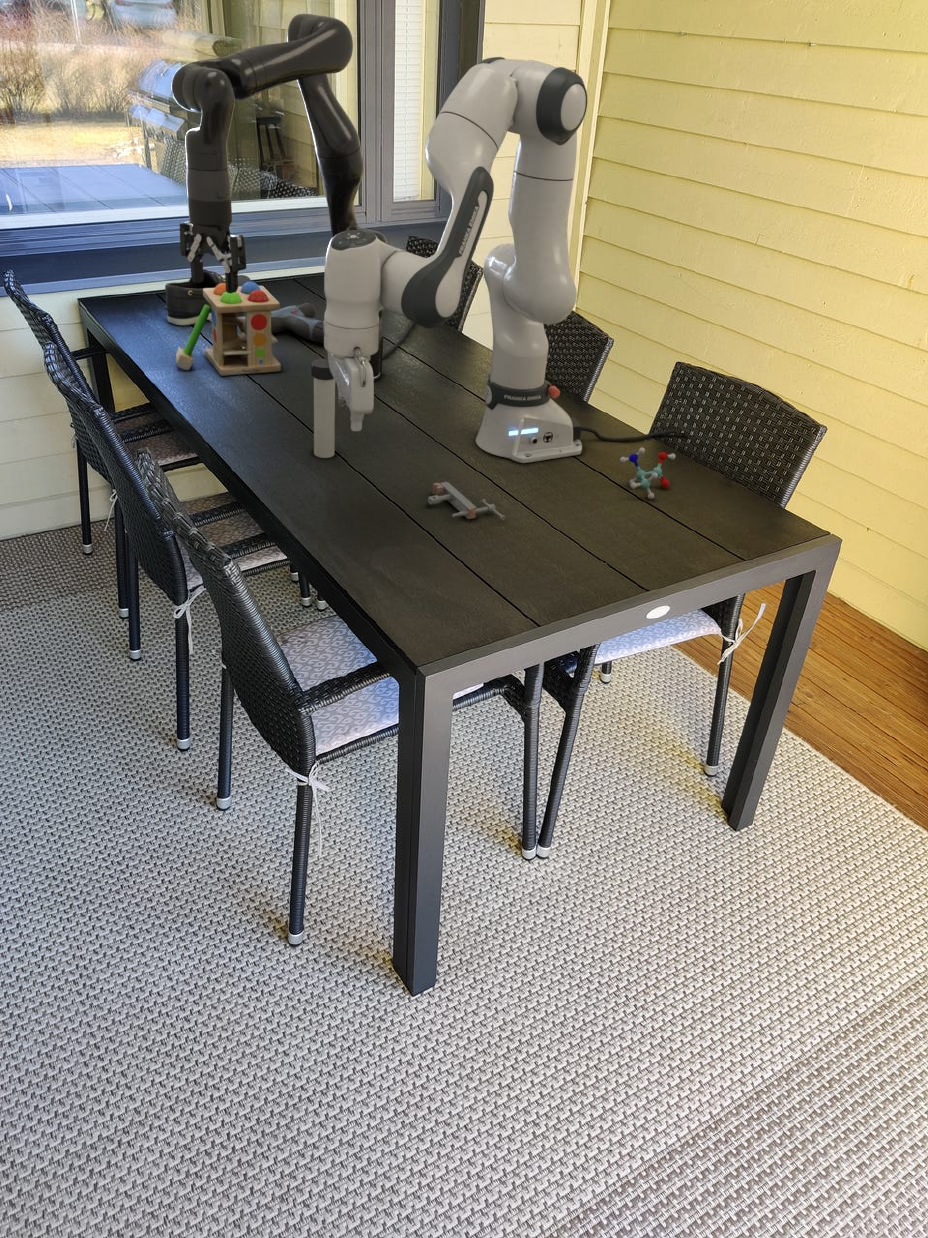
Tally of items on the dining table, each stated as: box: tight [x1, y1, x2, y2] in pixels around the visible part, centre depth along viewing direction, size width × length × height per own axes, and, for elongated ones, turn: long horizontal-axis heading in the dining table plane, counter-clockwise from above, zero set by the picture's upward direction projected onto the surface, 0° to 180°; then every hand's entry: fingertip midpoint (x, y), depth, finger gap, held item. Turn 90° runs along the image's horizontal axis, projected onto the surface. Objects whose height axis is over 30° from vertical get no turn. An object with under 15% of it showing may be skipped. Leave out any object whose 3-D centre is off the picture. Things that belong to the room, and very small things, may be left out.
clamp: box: [427, 481, 506, 521], centre depth 180 cm, size 15×2×10 cm
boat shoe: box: [164, 268, 253, 326], centre depth 260 cm, size 13×33×10 cm, turn 147°
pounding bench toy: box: [174, 281, 282, 377], centre depth 225 cm, size 23×14×18 cm, turn 116°
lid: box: [310, 358, 334, 380], centre depth 186 cm, size 5×5×2 cm
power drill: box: [271, 302, 324, 345], centre depth 252 cm, size 5×19×20 cm
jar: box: [313, 377, 336, 459], centre depth 190 cm, size 4×4×18 cm
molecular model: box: [619, 447, 676, 500], centre depth 192 cm, size 12×10×10 cm
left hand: (214, 287), depth 183 cm, fingers open, 8 cm apart
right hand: (349, 418), depth 167 cm, fingers open, 8 cm apart
